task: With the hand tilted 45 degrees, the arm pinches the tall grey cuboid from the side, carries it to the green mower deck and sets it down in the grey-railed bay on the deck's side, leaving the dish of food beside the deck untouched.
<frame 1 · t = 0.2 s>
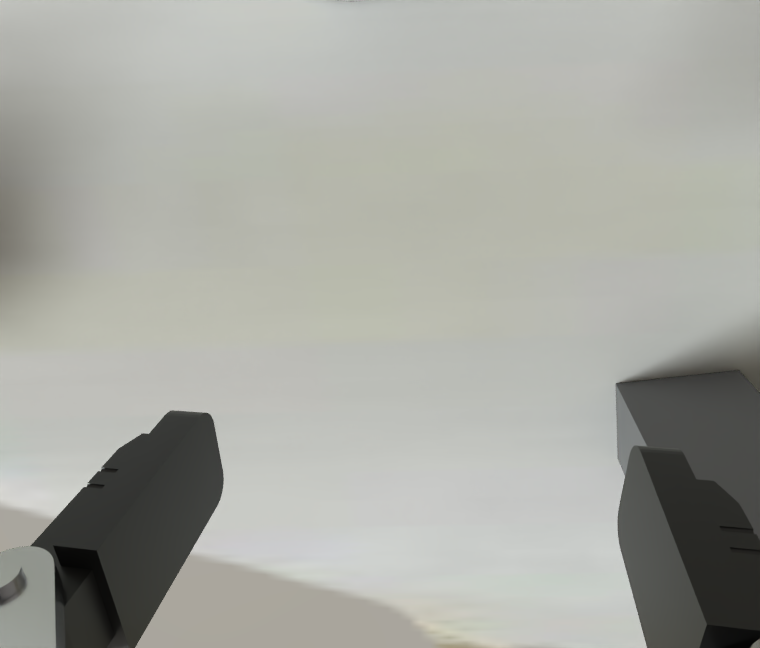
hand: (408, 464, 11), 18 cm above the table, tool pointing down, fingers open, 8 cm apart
tall grey cuboid: (675, 416, 31), on the table
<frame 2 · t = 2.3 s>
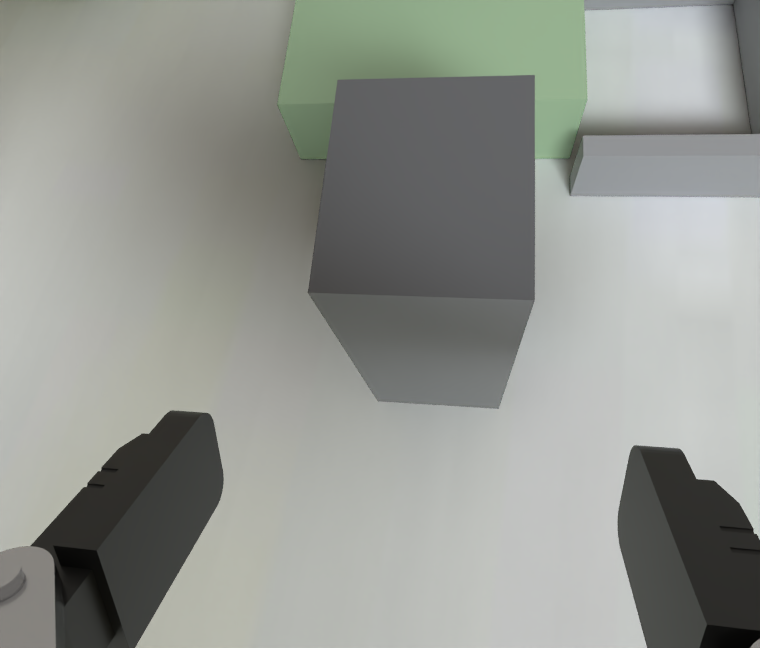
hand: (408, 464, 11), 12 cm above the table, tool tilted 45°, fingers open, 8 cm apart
deck: (440, 15, 31), on the table
tall grey cuboid: (441, 336, 25), on the table
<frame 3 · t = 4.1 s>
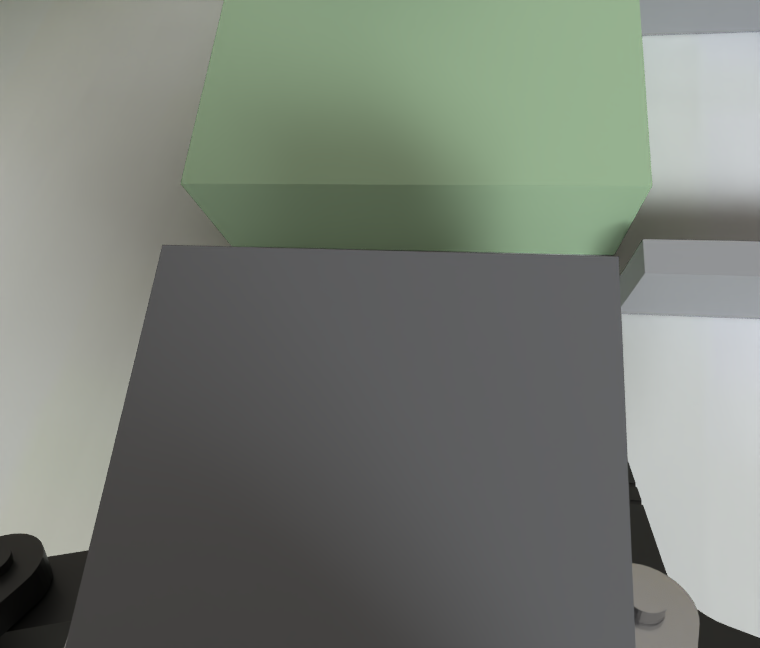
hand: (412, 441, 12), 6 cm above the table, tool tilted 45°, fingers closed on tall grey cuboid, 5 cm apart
deck: (430, 42, 22), on the table
tall grey cuboid: (424, 534, 16), on the table, touching gripper
when the fingers open (8 cm above the table, at t = 8.8 s): tall grey cuboid drops 2 cm, resting in deck.
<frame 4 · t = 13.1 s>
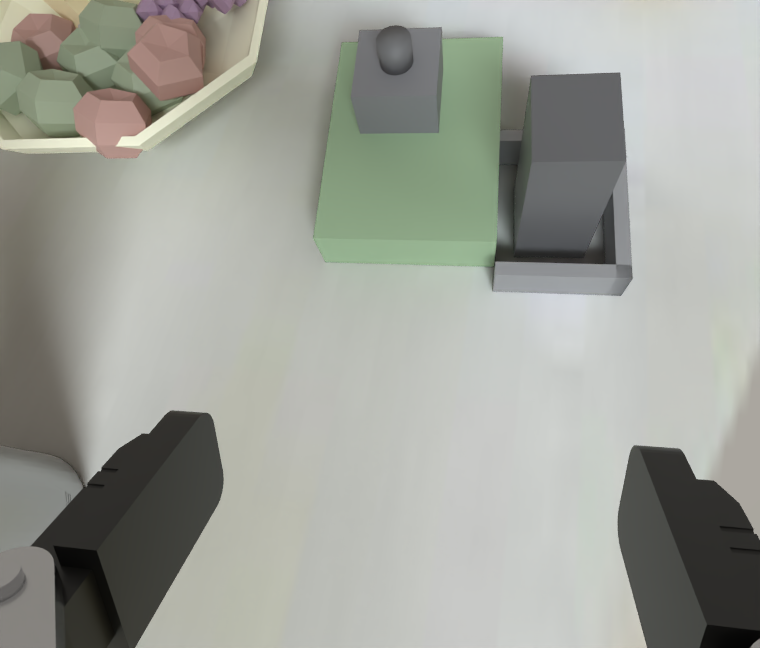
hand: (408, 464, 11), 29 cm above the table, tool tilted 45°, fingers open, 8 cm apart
deck: (416, 164, 47), on the table
tall grey cuboid: (547, 221, 44), resting in deck
dish with food: (155, 82, 54), on the table
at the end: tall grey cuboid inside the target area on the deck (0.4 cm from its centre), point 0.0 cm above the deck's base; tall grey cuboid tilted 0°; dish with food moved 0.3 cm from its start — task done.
